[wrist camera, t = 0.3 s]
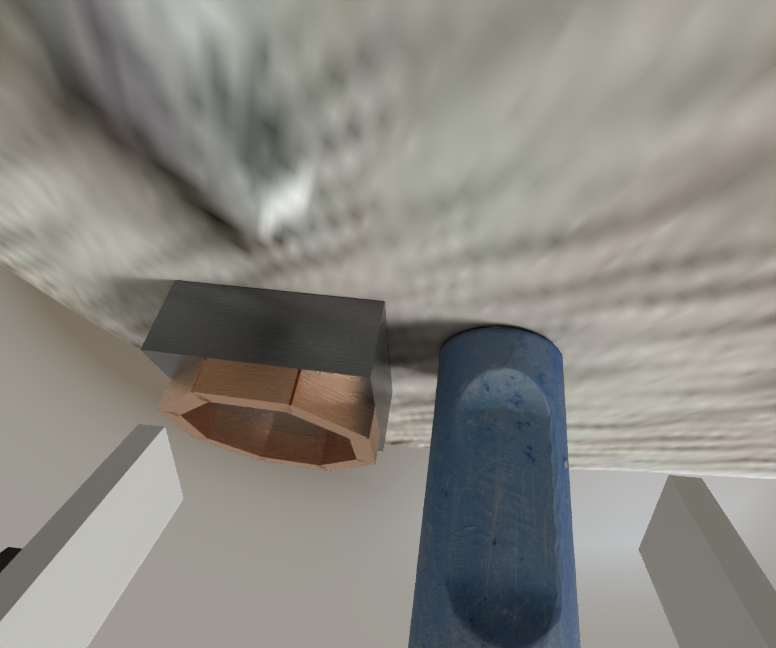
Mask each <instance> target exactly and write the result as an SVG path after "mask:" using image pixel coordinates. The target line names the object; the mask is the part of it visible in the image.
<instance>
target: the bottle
mask: <svg viewBox="0 0 776 648" xmlns="http://www.w3.org/2000/svg"><path fill="white" fill-rule="evenodd" d="M437 377H438V379H437V388H436V399H435V408H434V419H433V427H432V437H431V445H430V455H429V464H428V474H427V483H426V492H425V500H424V508H423V518H422V528H421V536H420V545H419V555H418V563H417V574H416V583H415V591H414V601H413V610H412V618H411V627H410V636H409V645H408V648H580V633H579V618H578V604H577V590H576V571H575V558H574V545H573V532H572V512H571V500H570V481H569V464H568V446H567V429H566V409H565V394H564V375H563V358H562V354H561V352H560V351H559V349H558V348H557V347H556V346H555V345H554V344H553V343H552V342H551V341H550V340H548V339H546V338H544V337H542V336H540V335H538V334H535V333H532V332H528V331H524V330H521V329H516V328H510V327H499V326H495V327H488V328H479V329H472V330H468V331H465V332H463V333H461V334H458V335H456V336H454V337H453V338H451V339H450V340H449V341H447V342H446V343H445V344H444V346H443V347H442V349H441V351H440V357H439V370H438V375H437Z"/></svg>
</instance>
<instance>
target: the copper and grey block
mask: <svg viewBox="0 0 776 648" xmlns="http://www.w3.org/2000/svg"><path fill="white" fill-rule="evenodd" d="M141 351H143V353H144V354H145V355H147V356H148V357H149V358H150V359H151V360H152V361H153V362H154V363H155V364H156V365H157V366H158V367H159V368H160V369H161V370H162V371H163V372H164V373H165V374H166V375H167V376H168V377H169V378H170V379H171V381H170V383H169V386H168V388H167V390H166V392H165V395H164V397H163V399H162V402H161V404H160V406H159V408H158V409H159V411H160V412H161V413H163V414H164V415H165V416H166V417H168V418H169V419H170V420H171V421H173V422H174V423H175V424H177V425H178V426H179V427H180V428H181V429H183V430H184V431H185V432H187V433H188V434H189V435H190V436H192V437H193V438H195V439H198V440H201V441H204V442H207V443H209V444H212V445H215V446H218V447H222V448H224V449H227V450H230V451H233V452H236V453H239V454H242V455H245V456H248V457H251V458H254V459H256V460H261V461H265V462H272V463H279V464H286V465H292V466H300V467H306V468H313V469H320V470H326V471H327V470H329V471H331V470H338V469H345V468H352V467H359V466H366V465H373V464H375V462H376V456H377V450H378V451H383V448H384V442H385V436H386V429H387V423H388V417H389V410H390V404H391V398H392V383H391V371H390V359H389V347H388V335H387V323H386V311H385V302H382V301H373V300H363V299H353V298H343V297H333V296H323V295H313V294H304V293H294V292H284V291H274V290H264V289H254V288H244V287H235V286H225V285H215V284H205V283H195V282H185V281H175V282H174V284H173V286H172V288H171V290H170V292H169V294H168V296H167V298H166V300H165V302H164V304H163V306H162V308H161V310H160V312H159V314H158V316H157V318H156V320H155V322H154V324H153V326H152V328H151V330H150V332H149V334H148V336H147V338H146V340H145V342H144V344H143V346H142V348H141Z"/></svg>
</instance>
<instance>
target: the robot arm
mask: <svg viewBox="0 0 776 648" xmlns="http://www.w3.org/2000/svg"><path fill="white" fill-rule="evenodd" d="M182 500H183V495H182V491H181V487H180V483H179V479H178V475H177V471H176V468H175V464H174V460H173V456H172V452H171V448H170V444H169V440H168V437H167V433H166V429H165V427H164V426H153V425H143V424H138V425H137V426H136V428H134V430H133V431H132V432H131V433H130V434H129V435H128V436H127V437H126V438H125V439H124V440H123V441H122V443H121V444H120V445H119V446H118V447H117V448H116V449H115V450H114V451H113V452H112V453H111V454H110V455H109V457H108V458H107V459H106V460H105V461H104V462H103V463H102V464H101V465H100V466H99V467H98V468H97V469H96V470H95V472H94V473H93V474H92V475H91V476H90V477H89V478H88V479H87V480H86V481H85V482H84V484H82V485H81V487H80V488H79V489H78V490H77V491H76V492H75V493H74V494H73V495H72V497H70V498H69V499H68V501H67V502H66V503H65V504H64V505H63V506H62V507H61V508H60V509H59V510H58V511H57V512H56V513H55V515H54V516H53V517H52V518H51V519H50V520H49V521H48V522H47V523H46V524H45V525H44V526H43V527H42V529H41V530H40V531H39V532H38V533H37V534H36V535H35V536H34V537H33V538H32V539H31V540H30V541H29V543H28V544H27V545H26V546H25V547H24V548H23V549H20V548H12V547H8V548H6V549H5V550H4V551H2V552H1V553H0V648H87V647H88V645H89V644H90V642H91V640H92V639H93V637H94V636H95V634H96V633H97V631H98V630H99V628H100V627H101V625H102V624H103V622H104V620H105V619H106V617H107V616H108V614H109V613H110V611H111V610H112V608H113V607H114V605H115V603H116V602H117V600H118V599H119V597H120V596H121V594H122V593H123V591H124V590H125V588H126V586H127V585H128V583H129V582H130V580H131V579H132V577H133V576H134V574H135V573H136V571H137V570H138V568H139V566H140V565H141V563H142V562H143V560H144V559H145V557H146V556H147V554H148V553H149V551H150V550H151V548H152V546H153V545H154V543H155V542H156V540H157V539H158V537H159V536H160V534H161V533H162V531H163V529H164V528H165V526H166V525H167V523H168V522H169V520H170V519H171V517H172V516H173V514H174V513H175V511H176V509H177V508H178V506H179V505H180V503H181V502H182ZM639 551H640V554H641V556H642V558H643V561H644V563H645V566H646V568H647V571H648V573H649V575H650V578H651V580H652V582H653V585H654V587H655V590H656V592H657V594H658V597H659V599H660V602H661V604H662V606H663V609H664V611H665V614H666V616H667V619H668V621H669V623H670V626H671V628H672V630H673V633H674V635H675V638H676V640H677V643H678V645H679V647H680V648H776V591H775V589H774V588H773V586H772V585H771V583H770V582H769V580H768V579H767V577H766V575H765V574H764V572H763V571H762V569H761V568H760V566H759V565H758V563H757V562H756V560H755V559H754V557H753V556H752V554H751V553H750V551H749V550H748V548H747V547H746V545H745V544H744V542H743V541H742V539H741V537H740V536H739V535H738V533H737V531H736V530H735V528H734V527H733V525H732V524H731V522H730V521H729V519H728V518H727V516H726V515H725V513H724V512H723V510H722V509H721V507H720V506H719V504H718V502H717V501H716V499H715V498H714V496H713V495H712V493H711V492H710V490H709V489H708V487H707V486H706V484H705V483H704V481H703V480H702V478H694V477H684V476H673V475H669V476H668V478H667V481H666V483H665V486H664V488H663V491H662V493H661V495H660V498H659V500H658V503H657V506H656V508H655V510H654V513H653V516H652V518H651V520H650V523H649V525H648V528H647V530H646V532H645V535H644V537H643V540H642V542H641V545H640V547H639Z"/></svg>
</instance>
